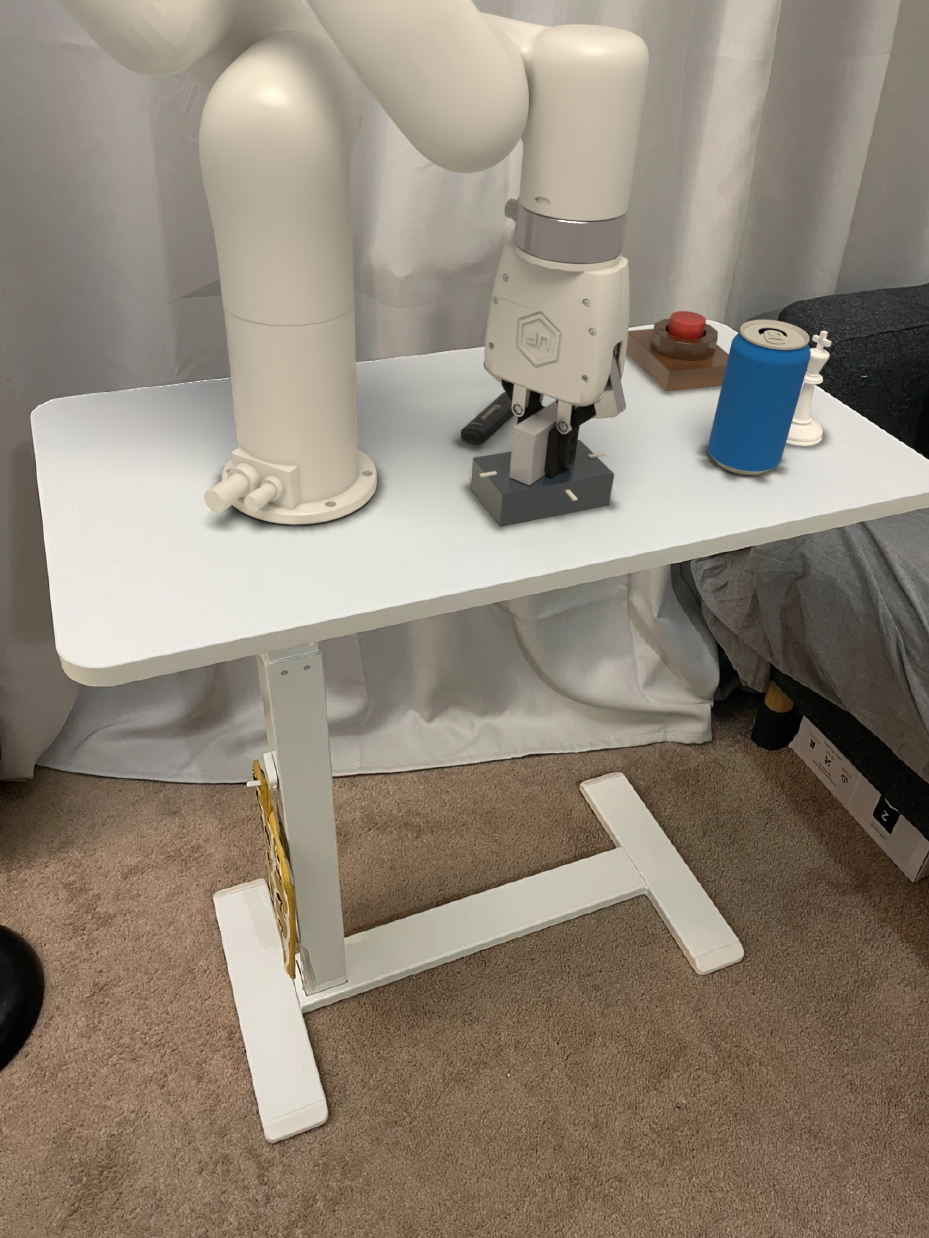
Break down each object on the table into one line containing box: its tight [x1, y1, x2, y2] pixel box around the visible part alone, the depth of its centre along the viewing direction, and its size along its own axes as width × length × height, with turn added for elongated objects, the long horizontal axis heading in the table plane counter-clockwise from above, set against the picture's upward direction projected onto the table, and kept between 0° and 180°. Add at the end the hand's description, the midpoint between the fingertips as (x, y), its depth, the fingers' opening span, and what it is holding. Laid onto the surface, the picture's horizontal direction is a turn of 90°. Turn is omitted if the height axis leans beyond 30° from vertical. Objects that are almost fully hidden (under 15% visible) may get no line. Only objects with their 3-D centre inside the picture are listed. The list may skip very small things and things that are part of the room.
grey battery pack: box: [509, 399, 580, 486], centre depth 80 cm, size 7×2×5 cm, turn 143°
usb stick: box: [460, 391, 515, 446], centre depth 92 cm, size 10×3×2 cm, turn 153°
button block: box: [626, 318, 729, 393], centre depth 103 cm, size 10×8×4 cm
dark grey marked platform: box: [470, 431, 615, 527], centre depth 82 cm, size 11×11×3 cm
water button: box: [668, 310, 707, 339], centre depth 102 cm, size 4×4×2 cm
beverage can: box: [707, 319, 811, 476], centre depth 86 cm, size 6×6×12 cm
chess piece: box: [786, 330, 833, 447], centre depth 91 cm, size 5×5×10 cm
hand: (543, 461), depth 81 cm, fingers closed on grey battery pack, 2 cm apart
